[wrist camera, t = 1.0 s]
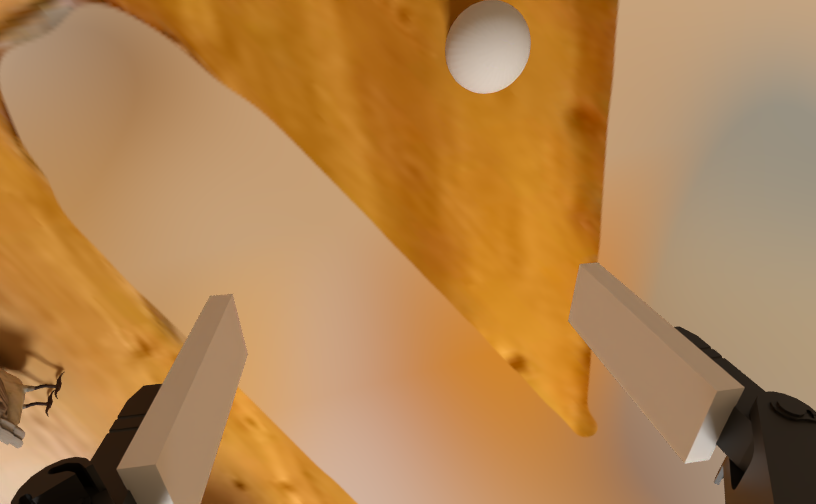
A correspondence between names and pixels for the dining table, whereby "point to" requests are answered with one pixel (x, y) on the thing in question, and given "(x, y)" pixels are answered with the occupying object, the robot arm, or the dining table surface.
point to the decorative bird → (17, 406)
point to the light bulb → (487, 46)
